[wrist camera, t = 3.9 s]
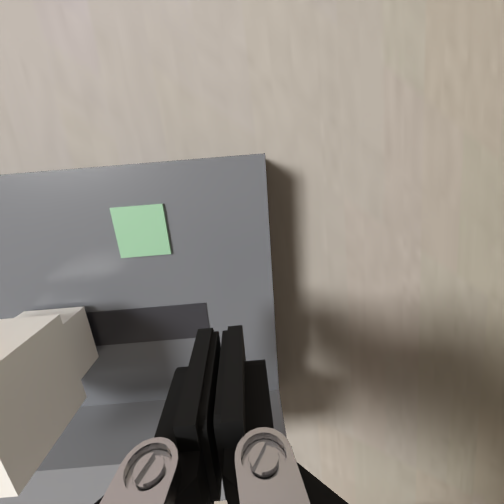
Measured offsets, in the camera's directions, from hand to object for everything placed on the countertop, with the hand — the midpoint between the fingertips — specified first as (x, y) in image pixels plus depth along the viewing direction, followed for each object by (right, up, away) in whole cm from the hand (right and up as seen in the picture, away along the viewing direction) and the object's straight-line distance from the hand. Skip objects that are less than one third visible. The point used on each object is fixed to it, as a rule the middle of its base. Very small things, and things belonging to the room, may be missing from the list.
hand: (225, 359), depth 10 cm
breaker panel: (-9, +1, +7) cm, 11 cm away
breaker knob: (-9, 0, +4) cm, 9 cm away
